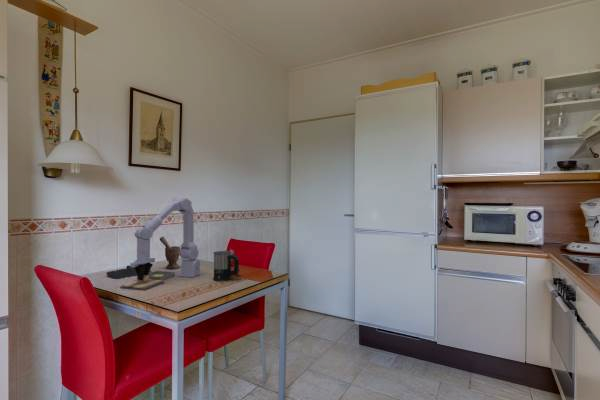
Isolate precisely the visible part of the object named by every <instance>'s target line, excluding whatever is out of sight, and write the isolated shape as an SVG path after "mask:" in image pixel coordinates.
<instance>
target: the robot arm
mask: <svg viewBox="0 0 600 400" xmlns="http://www.w3.org/2000/svg"><path fill="white" fill-rule="evenodd" d="M162 209H163V210H161V211H160V212H159V214H157V215H156V216H151V217H149V220H147V221H146V222H145V223H144V224H142V226H141V227H138V228H137V229H136V230H135V232H134V236H135V238H136V260H134V261H133V262H131V263H130V264H129V266H130V267H133V268H134V269H135V271H136V273H137V276H138V280H143V277H144V275H148V274H149V271H151V269H152V267H153V265H154V264H153V263H156V258H155V257H151V238H153V236H154V232H155V231H156V230H158V228H159V227H161V225H162V224H163V220H165V219H166V218H167V217H168V216H169V215H172V213H173V212H176V211H178V212H180V214H182V215H183V219H182V221H183V222H182V224H183V225H182V228H183V231H182V232H183V233H182V236H183V237H182V238H183V239H182V240H183V242H182V243H181V244H180V251H179V258H180V257H181V258H180V259H181V274H178V277H184V278H185V277H187V278H188V277H189V278H195V277H197V276H199V275H202V274H201V262H200V260H198V259H197V258H198V257H199V250H198V246H197V244H196V243H195V242H194V241H195V240H194V239H195V236H194V235H195V234H194V233H195V232H194V229H195V228H194V225H195V224H194V223H195V222H194V220H195V218H194V213H195V212H194V208H193V205H192V201H191V200H190V199H188V198H187V197H184V198H179V197H178V198H177V197H175V198H173V199H171V200H170V201H169V202H168V204H167V205H166V206H165V207H164V208H162ZM137 276H136V277H137Z"/></svg>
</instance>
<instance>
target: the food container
mask: <svg viewBox="0 0 600 400" xmlns="http://www.w3.org/2000/svg"><path fill="white" fill-rule="evenodd" d="M229 251H230V252H231V253H230V255H235V251H234V250H233V249H232V248H231V249H230V250H229ZM232 264H233V259H231V267H232V266H233V265H232Z"/></svg>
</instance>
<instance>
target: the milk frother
mask: <svg viewBox="0 0 600 400" xmlns="http://www.w3.org/2000/svg"><path fill="white" fill-rule="evenodd" d="M230 253H231V252H230V250H217V251H213V278H212V280H213V281H215V282H226V281H229V280H231V277H232V276H235V277H236V276H238V274H239V272H240V269H239V268H240V267H239V266H240V258H239V257H238V256H237V255H235V254H233V255H230ZM231 259H232V261H234V262H233V263H234V264H233V270H232V269H231V267H232V266H231Z"/></svg>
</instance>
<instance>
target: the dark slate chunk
mask: <svg viewBox="0 0 600 400" xmlns="http://www.w3.org/2000/svg"><path fill="white" fill-rule="evenodd" d="M150 272H152V271H151V270H150V271H149V273H150ZM106 275H107V276H108V277H111V278H112V279H114V280H121V278H122V279H125V278H126V277H127V278H133V277H137V273H136V271H135V269H134V268H133V267H130V265H126V268H120V269H116V270H111V271H107V272H106ZM132 276H133V277H132Z"/></svg>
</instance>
